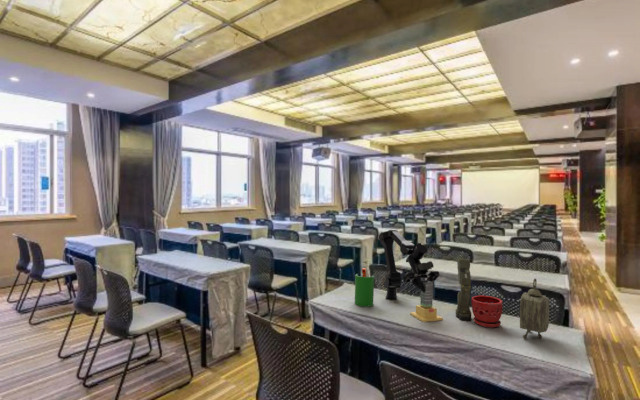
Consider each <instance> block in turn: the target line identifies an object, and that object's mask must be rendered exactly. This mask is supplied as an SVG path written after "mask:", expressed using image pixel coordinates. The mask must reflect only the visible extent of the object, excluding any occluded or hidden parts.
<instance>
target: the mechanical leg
mask: <svg viewBox="0 0 640 400" xmlns="http://www.w3.org/2000/svg"><path fill="white" fill-rule="evenodd" d="M456 263H457V264H456V265H457V277H458V284H459V285H460V291H458V292H457V306H456V309H455V317H456V318H458V319H459V320H460V321H464V322H472V310H471V308H470V307H471V306H470V305H471V294H472V293H471V289H472V288H471V287H472V286H471V285H472V277H471V271H470V268H471V262H470V260H469V259H466V258H465V257H464V258H463V257H462V258H461V257H458V258H457V260H456Z"/></svg>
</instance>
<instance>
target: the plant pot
mask: <svg viewBox="0 0 640 400" xmlns="http://www.w3.org/2000/svg"><path fill="white" fill-rule="evenodd" d="M470 305H471V312H472V314H473V321H474V323H475V324H477V325H478V326H481V327H485V328H492V329H493V328H497V327H499V326H500V325H501V324H502V321H501V320H500V319H501V318H502V316H503V315H502V314H503V301H502V299H500V298H498V297H495V296H489V295H475V296H472V297H470Z"/></svg>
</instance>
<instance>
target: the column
mask: <svg viewBox="0 0 640 400" xmlns="http://www.w3.org/2000/svg"><path fill="white" fill-rule="evenodd" d="M421 282H422V284H423V287H424V289H425V292H423V291H421V290H420V304H419V305H422V306H424V307H434V306H433V298H434V297H433V296H434V295H433V293H434V292H433V291H434V281H432V282H431V281H428V280H421Z"/></svg>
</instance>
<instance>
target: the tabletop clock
mask: <svg viewBox="0 0 640 400" xmlns="http://www.w3.org/2000/svg"><path fill="white" fill-rule="evenodd" d="M519 306H520V307H519V328H520V329H522V330H526V332H525V334H523V335H522V338H523V339H524V340H526V339H527V338H528V334H529V333H530V332H535V333H537V338H538V339H542V338H543V335H542V334H543V333H546V332H547V330H548V328H549V326H550V298H549V297H547V296H545V295H543V294H542V293H541V291H540V290H539V289H537V279H536V278H534V279H533V282H532V288H530V289H528V291H527V292H523V293H522V295H521V297H520V303H519Z"/></svg>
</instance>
